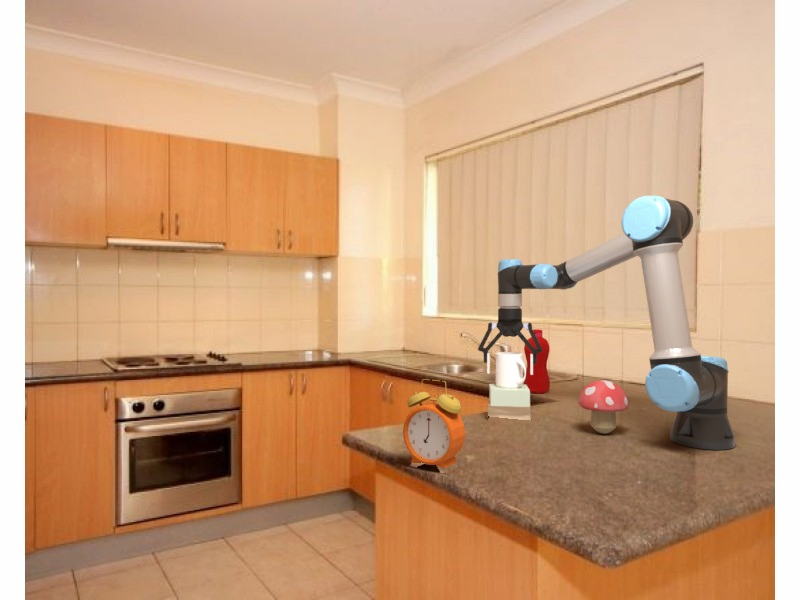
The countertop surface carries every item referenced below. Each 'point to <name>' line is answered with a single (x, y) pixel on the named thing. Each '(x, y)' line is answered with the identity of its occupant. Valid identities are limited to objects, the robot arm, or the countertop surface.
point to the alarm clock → (434, 429)
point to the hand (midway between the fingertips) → (509, 373)
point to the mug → (510, 369)
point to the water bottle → (538, 366)
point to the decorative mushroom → (603, 404)
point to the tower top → (509, 396)
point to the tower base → (509, 412)
